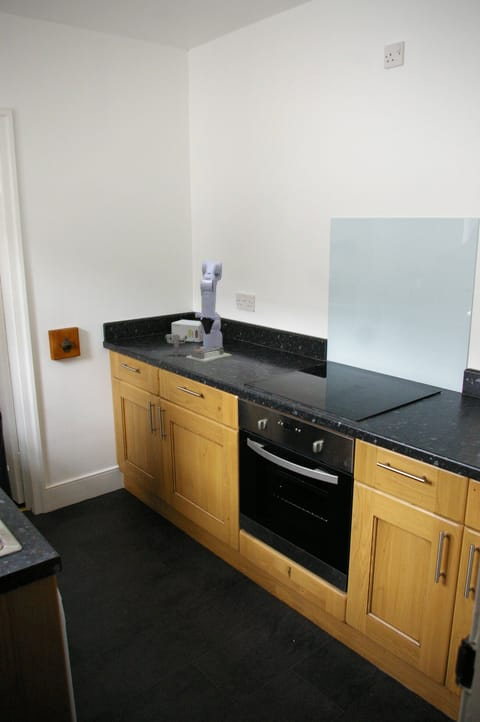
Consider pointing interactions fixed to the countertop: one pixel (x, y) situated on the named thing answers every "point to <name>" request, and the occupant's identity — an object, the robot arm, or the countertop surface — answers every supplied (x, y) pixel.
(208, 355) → the board
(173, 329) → the supplement box
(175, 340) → the mechanical component
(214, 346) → the strip
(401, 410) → the countertop surface
